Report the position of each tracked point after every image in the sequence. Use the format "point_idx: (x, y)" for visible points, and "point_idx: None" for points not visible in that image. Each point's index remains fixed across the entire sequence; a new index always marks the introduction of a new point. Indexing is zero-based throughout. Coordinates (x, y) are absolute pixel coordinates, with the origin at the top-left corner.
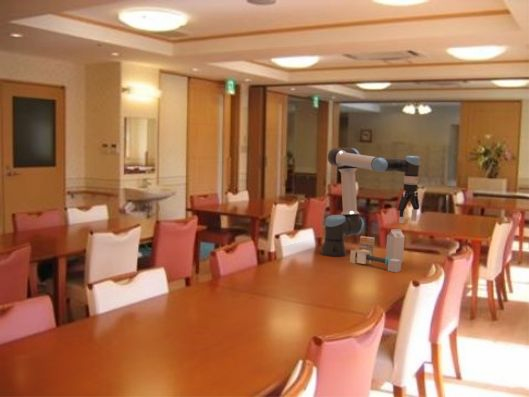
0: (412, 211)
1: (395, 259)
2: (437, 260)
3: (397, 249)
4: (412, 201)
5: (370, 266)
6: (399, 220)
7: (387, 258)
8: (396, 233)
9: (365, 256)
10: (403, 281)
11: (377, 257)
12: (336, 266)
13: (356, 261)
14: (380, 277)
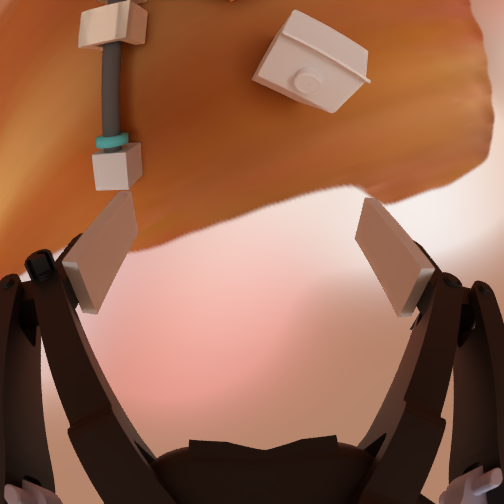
0: (406, 257)
1: (119, 167)
2: (426, 185)
3: (275, 88)
4: (386, 412)
5: None
6: (113, 202)
7: (97, 145)
8: (300, 69)
9: (92, 47)
10: (60, 244)
11: (103, 92)
12: (37, 26)
13: None
14: (36, 187)
